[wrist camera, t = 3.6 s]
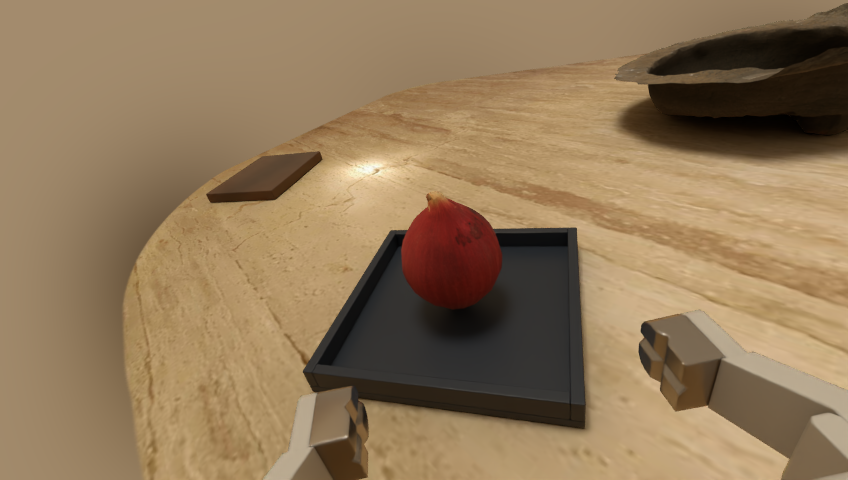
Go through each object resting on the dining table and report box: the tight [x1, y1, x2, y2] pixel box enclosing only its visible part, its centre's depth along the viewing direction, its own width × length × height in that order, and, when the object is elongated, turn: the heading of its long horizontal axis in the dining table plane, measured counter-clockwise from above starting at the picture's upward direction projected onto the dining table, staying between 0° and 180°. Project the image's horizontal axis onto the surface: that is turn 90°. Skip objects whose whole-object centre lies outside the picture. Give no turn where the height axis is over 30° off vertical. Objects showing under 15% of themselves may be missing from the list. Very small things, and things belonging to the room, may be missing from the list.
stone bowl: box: [614, 3, 848, 135], centre depth 41 cm, size 25×25×9 cm
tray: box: [303, 228, 585, 428], centre depth 26 cm, size 14×14×2 cm
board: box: [206, 151, 322, 202], centre depth 54 cm, size 10×12×1 cm
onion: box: [401, 191, 502, 309], centre depth 24 cm, size 6×6×8 cm
